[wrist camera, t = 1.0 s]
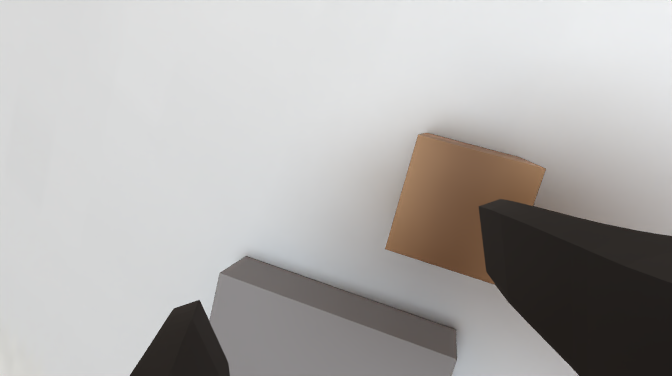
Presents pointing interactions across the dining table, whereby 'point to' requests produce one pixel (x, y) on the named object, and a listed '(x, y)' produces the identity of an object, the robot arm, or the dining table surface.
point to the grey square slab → (319, 329)
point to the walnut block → (456, 201)
